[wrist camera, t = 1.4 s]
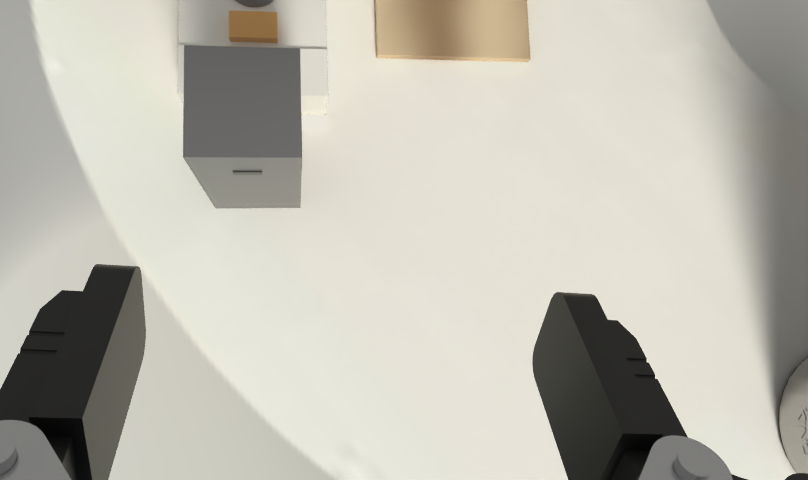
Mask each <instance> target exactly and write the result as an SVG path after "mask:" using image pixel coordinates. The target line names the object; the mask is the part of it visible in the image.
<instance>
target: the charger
mask: <svg viewBox="0 0 808 480" xmlns="http://www.w3.org/2000/svg"><path fill="white" fill-rule="evenodd" d="M183 158H184V159H185V161H186V162H187V164H188V165H189V167H190V169H191V170H192V172H193V173H194V175H195V177H196V178H197V180H198V181H199V183H200V184H201V186H202V188H203V189H204V191H205V192H206V194H207V196H208V197H209V199H210V200H211V202H212V203H213V205H214V207H215V208H300V199H301V170H302V131H301V70H300V48H270V47H233V46H197V45H184V125H183Z"/></svg>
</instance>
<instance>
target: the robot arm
mask: <svg viewBox="0 0 808 480" xmlns="http://www.w3.org/2000/svg"><path fill="white" fill-rule="evenodd" d="M145 334H146V328H145V316H144V302H143V289H142V277H141V271H140V268H139V267H137V266H118V265H102V264H97V265H95V266H94V267H93V269H92V271H91V274H90V276H89V278H88V281H87V283H86V286H85V288H84V290H83V291H65V290H62V291H61V292H60V293H59V294H57V295H56V296H55V297H54V298H53V299H52V300H50V301H49V302H48V303H47V304H45V305H44V306H43V307H42V308H41V309H40V311H39V312H38V314H37V317H36V319H35V321H34V323H33V325H32V327H31V329H30V331H29V335H27V337H26V339H25V341H24V343H23V345H22V347H21V351H20V354H18V355H17V357H16V359H15V361H14V363H13V365H12V367H11V369H10V371H9V373H8V375H7V377H6V379H5V381H4V383H3V385H2V387H1V389H0V480H108V478H109V474H110V471H111V467H112V464H113V460H114V457H115V454H116V450H117V447H118V443H119V440H120V436H121V433H122V429H123V426H124V423H125V419H126V416H127V412H128V409H129V405H130V402H131V398H132V395H133V391H134V388H135V385H136V381H137V378H138V374H139V370H140V367H141V363H142V360H143V355H144V348H145V338H146V335H145ZM533 373H534V377H535V381H536V384H537V387H538V390H539V393H540V396H541V399H542V402H543V405H544V408H545V411H546V414H547V417H548V420H549V423H550V426H551V429H552V432H553V435H554V438H555V441H556V444H557V447H558V450H559V453H560V456H561V459H562V462H563V465H564V468H565V471H566V474H567V477H568V480H747V479H744V478H740V477H737V476H735V475H732V474H731V473H730V471H729V469H728V467H727V466H726V464H725V463H724V461H723V460H722V459H721V458H720V457H719V456H718V455H717V454H716V453H715V452H714V451H712V450H711V449H710V448H708V447H707V446H705V445H704V444H702V443H700V442H698V441H696V440H693V439H691V438H688V437H687V435H686V433H685V431H684V429H683V427H682V425H681V424H680V422H679V420H678V418H677V416H676V414H675V412H674V410H673V408H672V406H671V404H670V403H669V401H668V399H667V397H666V395H665V393H664V391H663V389H662V387H661V385H660V383H659V381H658V380H657V379H655V374H654V372H653V370H652V368H651V366H650V364H649V363H647V362H646V357H645V355H644V353H643V351H642V349H641V347H640V345H639V343H638V341H637V339H636V338H635V337H634V336H633V335H632V334H631V333H630V332H629V331H628V330H627V329H626V328H625V327H623V326H622V325H621V324H620V323H619V322H618V321H616V320H607V318H606V316H605V314H604V312H603V310H602V307H601V305H600V303H599V301H598V299H597V298H596V297H595V296H594V295H592V294H579V293H562V292H557V293H555V294H554V295H553V297H552V299H551V301H550V304H549V307H548V310H547V313H546V316H545V318H544V321H543V324H542V327H541V330H540V333H539V335H538V338H537V341H536V344H535V347H534V352H533ZM779 426H780V432H781V438H782V443H783V446H784V449H785V452H786V454H787V457H788V460H789V461H790V463H791V465H792V466H793V468H794V470H795V471H796V473H797V474H792V475H790V476H788V477H787V478H786V479H785V480H808V358H807V359H806V360H804V361H803V362H802V363H801V364H800V365H799V366H798V367H797V369H796V370H795V371H794V373H793V374H792V375H791V377H790V378H789V381H788V383H787V385H786V387H785V390H784V392H783V396H782V401H781V405H780V420H779Z"/></svg>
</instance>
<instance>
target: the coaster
mask: <svg viewBox="0 0 808 480" xmlns="http://www.w3.org/2000/svg"><path fill="white" fill-rule="evenodd" d="M375 18H376V49H377V58H395V59H434V60H472V61H510V62H528V61H529V60H530V45H529V28H528V12H527V0H375Z"/></svg>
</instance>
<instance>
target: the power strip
mask: <svg viewBox="0 0 808 480" xmlns="http://www.w3.org/2000/svg"><path fill="white" fill-rule="evenodd" d="M184 45H197V46H233V47H270V48H300V70H301V115H326V110H327V103H328V96H329V94H328V49H327V12H326V0H179V36H178V81H177V93H178V95H179V97H180V99H181V101H182V103H183V106H184Z"/></svg>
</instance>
